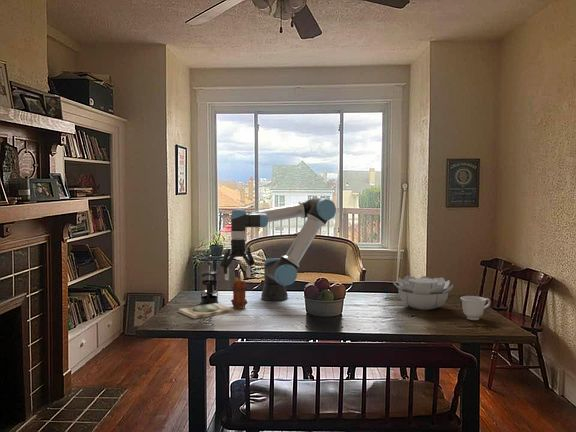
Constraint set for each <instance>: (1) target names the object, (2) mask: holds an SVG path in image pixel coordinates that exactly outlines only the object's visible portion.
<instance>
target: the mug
mask: <svg viewBox="0 0 576 432" xmlns="http://www.w3.org/2000/svg"><path fill="white" fill-rule="evenodd" d="M232 284H233V286H232V287H231V290H232V293H233V294H232V296H233V297H232V298H233V299H230V302H231V304H232V307H233V308H232V309H235V310H241V309H242V310H243V309H245V308H246V305H247V304H248V300H247V299H246V291H248V288H247V286H246V281H245V280H241V279H240V278H239V277H234V279H233V283H232Z"/></svg>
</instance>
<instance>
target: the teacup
mask: <svg viewBox="0 0 576 432" xmlns="http://www.w3.org/2000/svg"><path fill="white" fill-rule="evenodd" d="M460 300H461V304H462V311H463V314H464V315H465V316H466V319H467V320H471V321H479V320H480V317H481V316H483V314H484V310H485V309H487V308H488V307H490V305H491V302H492V301H491V299H490V298H488V297H483V296H476V295H463V296H461V297H460ZM485 304H486V305H485Z"/></svg>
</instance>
